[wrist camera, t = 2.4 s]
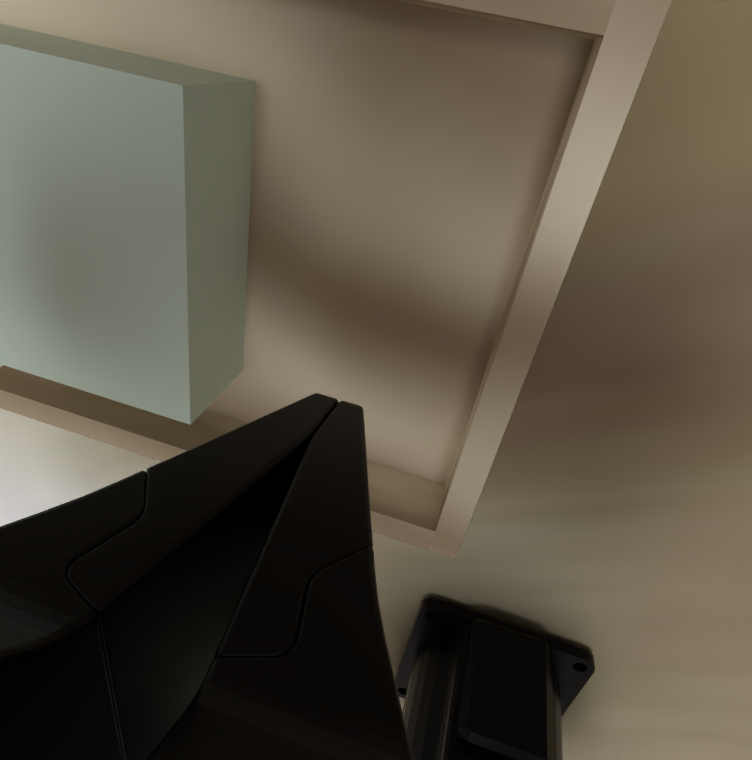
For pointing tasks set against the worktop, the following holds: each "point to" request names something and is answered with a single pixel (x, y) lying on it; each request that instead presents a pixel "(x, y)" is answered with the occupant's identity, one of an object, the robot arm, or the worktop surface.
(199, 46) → the shallow beige tray
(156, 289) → the pale green block
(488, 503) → the worktop surface
